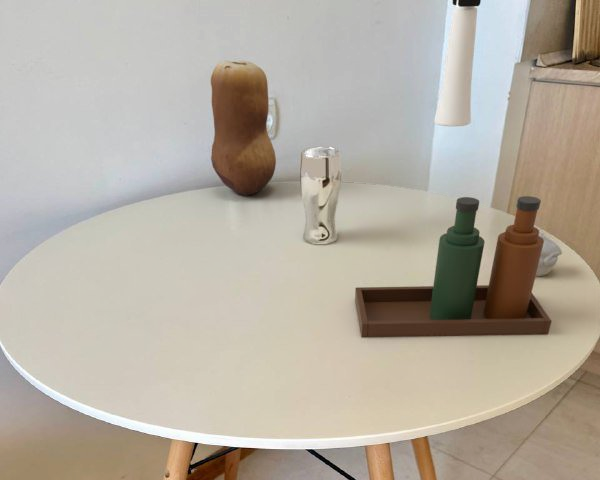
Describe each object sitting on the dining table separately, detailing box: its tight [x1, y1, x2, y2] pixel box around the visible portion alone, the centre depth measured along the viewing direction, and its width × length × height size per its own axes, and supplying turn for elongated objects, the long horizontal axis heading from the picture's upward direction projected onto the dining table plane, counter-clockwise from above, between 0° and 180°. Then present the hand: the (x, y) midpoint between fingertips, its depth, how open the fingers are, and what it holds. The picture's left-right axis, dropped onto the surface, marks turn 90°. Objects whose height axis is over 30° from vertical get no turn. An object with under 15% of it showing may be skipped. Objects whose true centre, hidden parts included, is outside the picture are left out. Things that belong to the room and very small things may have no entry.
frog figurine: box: [536, 231, 563, 277], centre depth 91 cm, size 6×7×7 cm
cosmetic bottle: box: [433, 0, 478, 127], centre depth 93 cm, size 6×6×22 cm
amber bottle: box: [483, 195, 544, 319], centre depth 77 cm, size 6×6×16 cm
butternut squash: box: [210, 60, 277, 197], centre depth 122 cm, size 14×13×25 cm
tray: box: [354, 284, 552, 339], centre depth 82 cm, size 25×11×3 cm, turn 90°
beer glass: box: [299, 146, 342, 246], centre depth 103 cm, size 7×7×15 cm
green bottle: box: [430, 196, 486, 320], centre depth 77 cm, size 6×6×16 cm
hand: (465, 4), depth 90 cm, fingers closed on cosmetic bottle, 3 cm apart
